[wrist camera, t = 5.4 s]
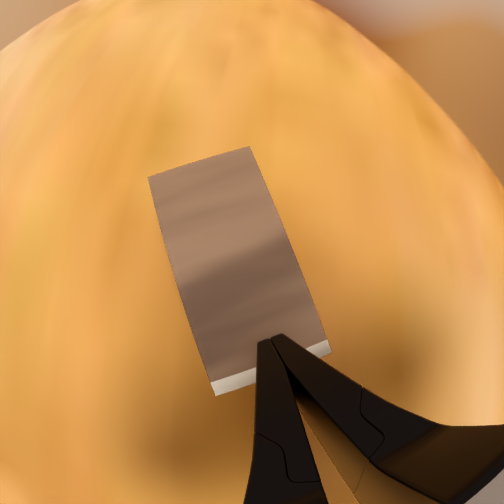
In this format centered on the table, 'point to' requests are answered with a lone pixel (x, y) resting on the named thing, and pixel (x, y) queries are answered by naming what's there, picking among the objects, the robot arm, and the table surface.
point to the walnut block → (233, 265)
